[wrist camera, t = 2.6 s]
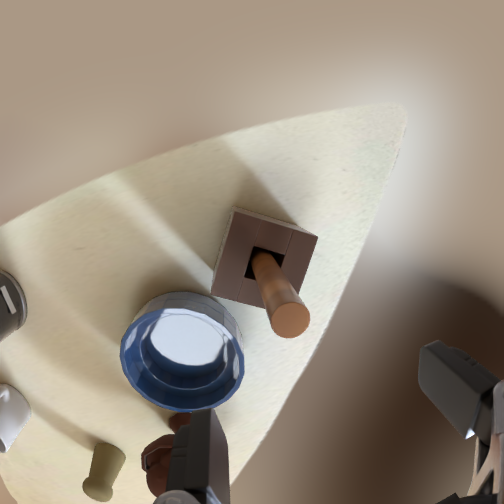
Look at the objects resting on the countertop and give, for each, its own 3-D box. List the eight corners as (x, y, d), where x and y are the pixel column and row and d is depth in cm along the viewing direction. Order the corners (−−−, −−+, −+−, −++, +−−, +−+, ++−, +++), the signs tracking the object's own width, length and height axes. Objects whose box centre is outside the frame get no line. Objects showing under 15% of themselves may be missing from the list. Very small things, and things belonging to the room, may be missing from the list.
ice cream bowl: (176, 452, 42) (168, 522, 27) (138, 408, 39) (115, 482, 25) (233, 437, 42) (238, 512, 27) (198, 389, 39) (191, 470, 25)
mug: (31, 425, 39) (9, 460, 29) (-1, 403, 38) (-27, 433, 27) (32, 387, 38) (3, 424, 27) (-3, 362, 36) (-36, 393, 25)
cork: (131, 457, 42) (119, 502, 31) (115, 466, 42) (102, 508, 31) (104, 438, 40) (87, 483, 30) (89, 448, 41) (72, 490, 30)
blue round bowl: (127, 368, 38) (115, 393, 32) (143, 275, 35) (129, 291, 29) (225, 394, 40) (225, 422, 34) (255, 306, 37) (261, 327, 31)
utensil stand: (213, 271, 36) (210, 294, 28) (233, 205, 35) (234, 211, 27) (277, 289, 37) (290, 315, 29) (298, 226, 36) (318, 236, 28)
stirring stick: (244, 255, 36) (265, 334, 16) (249, 237, 35) (278, 297, 16) (262, 260, 36) (302, 341, 17) (267, 242, 36) (316, 307, 16)
